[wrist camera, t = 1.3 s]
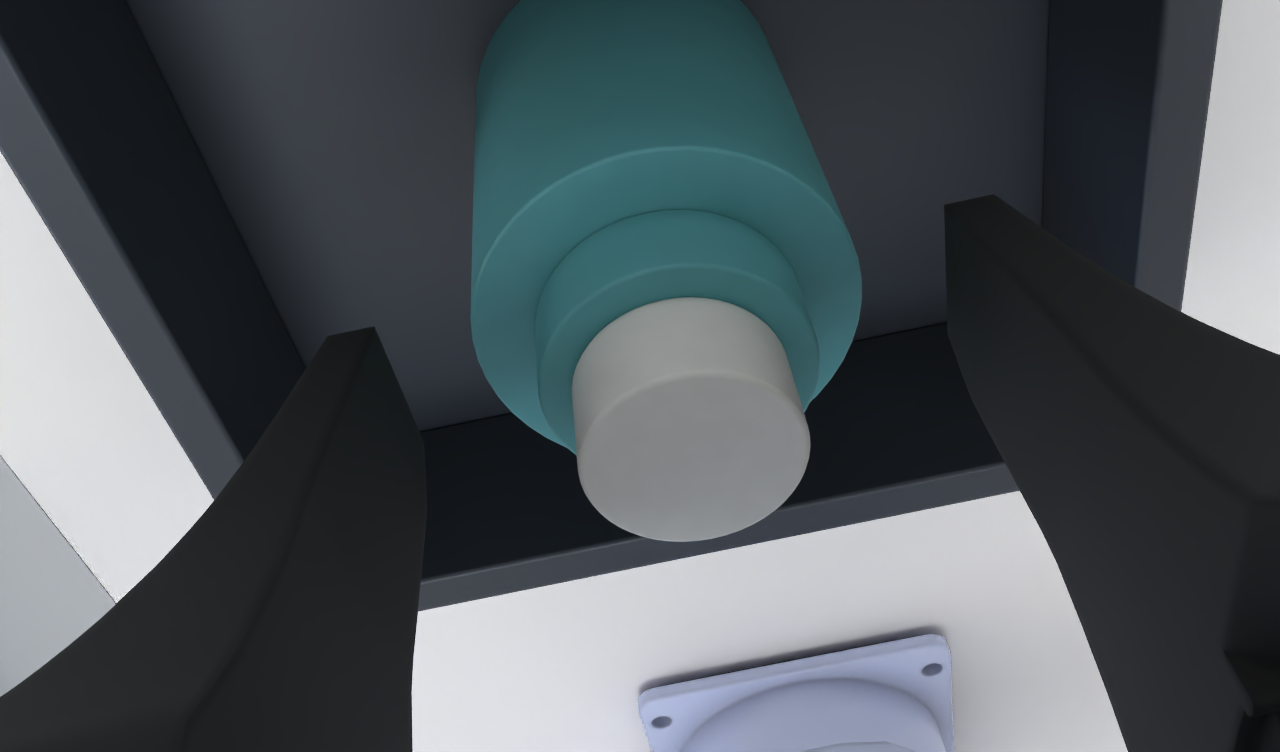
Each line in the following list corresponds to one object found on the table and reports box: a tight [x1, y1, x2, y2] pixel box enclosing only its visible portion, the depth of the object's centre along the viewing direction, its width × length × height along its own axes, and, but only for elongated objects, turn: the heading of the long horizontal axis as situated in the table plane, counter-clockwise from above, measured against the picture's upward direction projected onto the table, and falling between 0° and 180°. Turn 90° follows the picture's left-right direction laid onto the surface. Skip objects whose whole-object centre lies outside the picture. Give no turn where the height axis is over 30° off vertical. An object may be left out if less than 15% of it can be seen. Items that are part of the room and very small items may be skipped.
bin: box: [0, 0, 1223, 611], centre depth 18 cm, size 14×16×4 cm
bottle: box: [470, 0, 862, 542], centre depth 16 cm, size 5×5×9 cm
